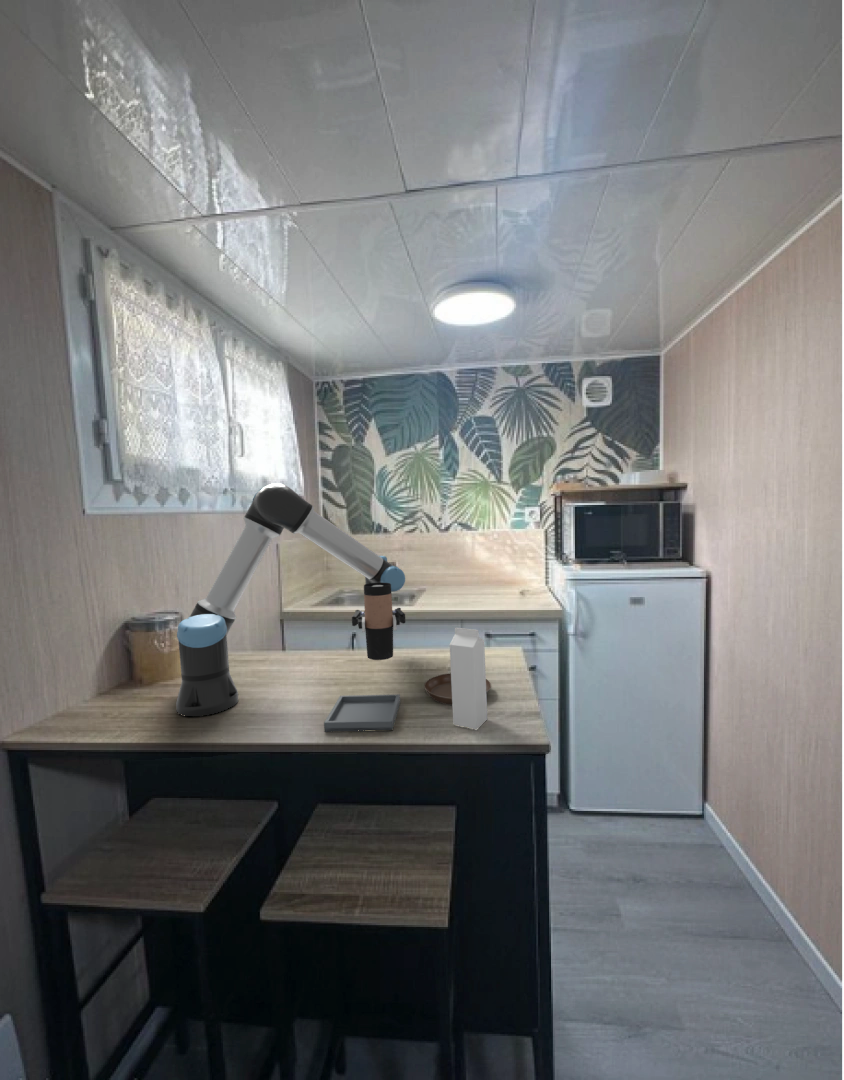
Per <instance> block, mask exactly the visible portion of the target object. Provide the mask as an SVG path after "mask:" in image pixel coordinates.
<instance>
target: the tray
mask: <svg viewBox="0 0 844 1080" xmlns="http://www.w3.org/2000/svg"><path fill="white" fill-rule="evenodd" d="M400 706H401V694H400V693H399V694H365V695H364V694H361V695H360V694H359V695H358V694H356V695H355V694H354V695H353V694H351V695H350V694H349V695H348V694H347V695H339V697H338V698H337V700H336V702H335V703H334V706H333V707H332V708H331V710H330V712H329V713H328V715H327V717H326V719H325V720H324V722H323V728H324V729H323V730H324V732H325V733H334V732H333V731H355V732H366V731H365V730H392V729H393V730H394V727H393V726H395V724H396V723H395V722H396V720H397V716H398V713H397V712H399V709H400ZM395 719H396V720H395ZM394 723H395V724H394ZM358 730H359V731H358ZM363 730H364V731H363ZM331 731H332V732H331Z"/></svg>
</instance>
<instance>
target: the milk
mask: <svg viewBox="0 0 844 1080" xmlns="http://www.w3.org/2000/svg"><path fill="white" fill-rule="evenodd" d="M485 647H486V646H485V640H484V639H483V638H482V637H480V633H479V630H478V629H473V628H463V627H462V628H461V627H455V628H454V635H453V637H452V639H451V641H450V643H449V658H450V659H449V661H450V673H451V686H452V705H451V706H452V724H454V725H459V726H464V727H469V728H473V729H477V728H479V727H480V726H481V725H482V724H483V723H484V722H485V721H486V720H487V721H488V704H487V701H488V700H487V694H486V679H487V677H486V675H487V674H486V655H485V654H486V653H485ZM487 721H486V722H487ZM486 722H485V723H486ZM485 723H484V724H485ZM484 724H483V725H484ZM454 725H453V726H454ZM483 725H482V726H483ZM459 726H458V727H459ZM482 726H481V727H482ZM481 727H480V728H481ZM480 728H479V729H480ZM473 729H472V730H473Z"/></svg>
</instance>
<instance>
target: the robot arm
mask: <svg viewBox="0 0 844 1080" xmlns="http://www.w3.org/2000/svg"><path fill="white" fill-rule="evenodd" d="M243 520H244V524H245V526H244V528H243V530H242V531H241V534H240V535H239V537H238V539H237V541H236V542H235V545H234V546H233V548H232V550H231V552H230V554H229V556H228V557H227V559H226V561H225V563H224V564H223V566H222V569H221V570H220V572H219V574H218V575H217V577H216V579H215V581H214V583H213V584H212V587H211V589H210V590H209V592H208V594H207V595H206V597H205V598H203V599H200V600H198V601H197V602H196V604H195V607H193V610H192V612H191V614H190V615H189V616H188V617H187V618H185V619H184V618H183V620H181V621H180V622H179V623H178V625H177V632H176V637H177V640H178V641H177V642H178V652H179V661H180V663H179V664H180V674H181V675H180V677H181V682H180V686H179V691H178V695H177V699H176V702H175V703H176V704H175V706H176V707H175V709H176V713H177V712H178V713H179V714H182V715H185V716H200V717H203V716H202V715H207V716H210V715H209V714H212V715H215V714H214V713H216V714H219V713H221V711H222V712H224V710H225V711H227V710H229V709H231V708H232V706H233V707H234V706H235V705H237V704H238V702H239V691H238V689H237V687H236V685H235V682H234V679H233V677H232V675H231V673H230V664H229V663H230V662H229V661H230V659H229V649H228V634H229V632H230V631H231V629H232V627H233V625H234V623H235V620H236V618H237V615H236V613H235V609H236V608H237V606H238V604H239V602H240V601H241V598H242V596H243V595H244V592H245V591H246V589H247V588H248V585H249V584H250V582H251V580H252V579H253V576H254V574H255V572H256V570H257V569H258V566H259V565H260V562H261V561H262V559H263V558H264V557H263V556H265V554H266V551H267V550H268V548H269V546H270V544H271V542H272V540H273V539H274V538H277V537H280V536H281V535H282V532H284V529H285V530H287V531H288V532H290V533H292V534H300V535H301V536H303V537H305V538H306V539H308V540H309V541H310V542H312V543H314V544H315V545H317V546H318V547H320V548H321V549H323V550H324V551H325V552H327V553H328V554H330V555H332V557H335V558H336V559H337V560H339V561H340V562H342V563H344V564H345V565H347V566H349V567H350V568H352V569H353V570H355V571H356V572H358V573H359V574H361V575H362V576H364V577H365V578H364V580H365V584H369V583H390V584H391V593H392V592H393V593H395V592H398V591H400V590H401V589H403V587H404V585H405V583H406V575H405V573H404V571H403V570H402V569H401V568H399V567H398V566H395V565H393V564H391V563H390V562H388V558H387V556H385V555H378V554H377V553H375V551H372V550H371V549H369V548H368V547H367V546H365V545H364V544H363V543H361V542H359V541H358V540H357V539H355V538H354V537H353V536H351V535H349V534H348V533H346V532H345V531H343V530H342V529H340V528H339V527H337V526H336V525H335V524H333V523H332V522H330V521H329V520H328V519H326V518H325V517H323V516H322V515H320V514H319V513H318V512H316V511H315V509H314V505H312V504H311V503H309V502H308V501H307V500H306V499H304V498H303V497H301V496H300V495H299V494H298V493H297V492H296V491H294V490H293V489H292V488H291V487H290V486H287V485H286V484H283V483H271V484H268V485H266V486H263V487H261V488H260V489H259V490H257V491H256V493H255V494H254V496H253V497H252V501H251V504H250V506H249V507H248V509H247V511H246V513H245V515H244V517H243ZM392 614H393V632H395V631H397V628H398V627H397V626H400V625H401V624H406V613H405V612H403V611H402V608H401V607H396V608H394V610H392ZM351 626H353V627H356V626H357V627H358V629H360V630H361V633H366V631H365V610H364V611H362V610H359V609H356V610H355V613H354V614H353V615H352V616H351ZM230 707H231V708H230ZM228 708H229V709H228ZM218 712H219V713H218ZM178 713H177V714H178ZM179 714H178V715H179ZM185 716H184V717H185Z"/></svg>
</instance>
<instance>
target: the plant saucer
mask: <svg viewBox="0 0 844 1080" xmlns="http://www.w3.org/2000/svg"><path fill="white" fill-rule="evenodd" d="M423 687H424V690H425V691H426V693H427V694H428V695H429V696H430V698H432V699H433V700H434V701H436V702H438V703H440V704H444V705H449V706H452V686H451V672H450V673H443V674H438V675H435V676H433V677H430V678H429V679H427V680H426V681H425V682H424V685H423ZM491 687H492V684H491V682H490V680H488V679H487V678H486V695H487V694H488V693H489V691H490V690H491Z"/></svg>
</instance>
